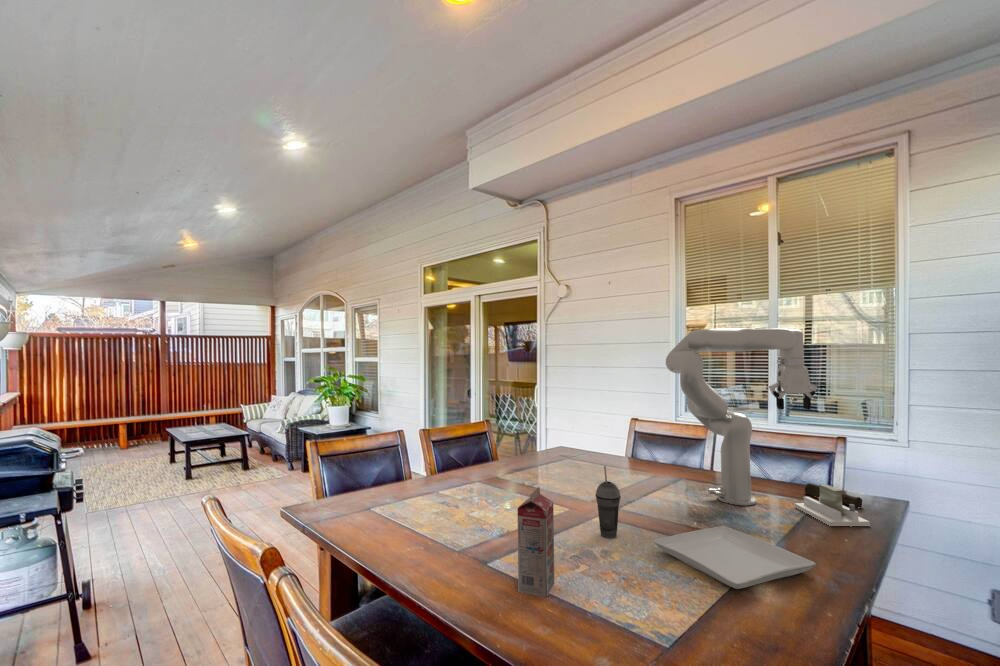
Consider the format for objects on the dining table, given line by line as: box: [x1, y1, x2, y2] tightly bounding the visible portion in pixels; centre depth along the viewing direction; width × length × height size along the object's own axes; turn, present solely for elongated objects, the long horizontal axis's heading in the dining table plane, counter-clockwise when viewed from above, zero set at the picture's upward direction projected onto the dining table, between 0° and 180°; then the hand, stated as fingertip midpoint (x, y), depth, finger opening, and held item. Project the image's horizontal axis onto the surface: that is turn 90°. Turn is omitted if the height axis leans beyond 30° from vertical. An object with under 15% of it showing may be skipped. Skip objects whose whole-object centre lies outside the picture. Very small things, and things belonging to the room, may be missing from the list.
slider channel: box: [794, 496, 871, 528], centre depth 154 cm, size 12×18×6 cm, turn 179°
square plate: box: [652, 525, 817, 590], centre depth 121 cm, size 27×27×4 cm
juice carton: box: [517, 486, 555, 598], centre depth 109 cm, size 7×7×22 cm
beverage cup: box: [595, 465, 622, 540], centre depth 140 cm, size 7×7×20 cm
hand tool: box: [804, 483, 863, 508], centre depth 171 cm, size 19×4×5 cm, turn 21°
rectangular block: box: [818, 484, 843, 516], centre depth 154 cm, size 2×7×8 cm, turn 0°
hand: (793, 408), depth 177 cm, fingers open, 9 cm apart
